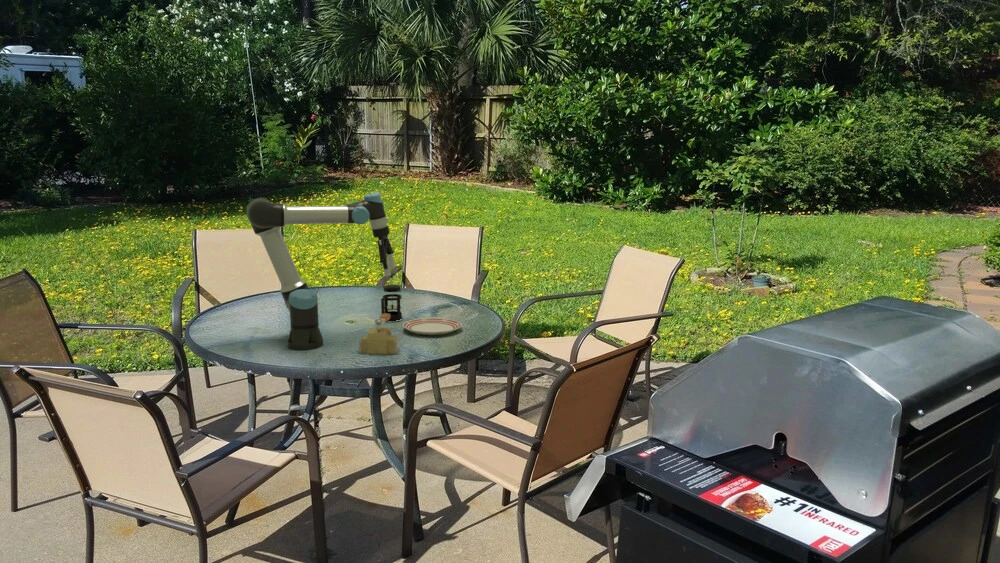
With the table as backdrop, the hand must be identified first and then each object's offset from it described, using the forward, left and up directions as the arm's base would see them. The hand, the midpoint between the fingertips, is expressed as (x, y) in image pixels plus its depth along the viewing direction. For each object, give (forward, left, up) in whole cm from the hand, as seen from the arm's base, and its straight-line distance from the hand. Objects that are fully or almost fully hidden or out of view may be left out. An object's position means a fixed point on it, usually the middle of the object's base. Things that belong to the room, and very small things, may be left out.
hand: (390, 271), depth 340 cm
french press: (-4, +16, -27) cm, 32 cm away
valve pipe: (+3, -37, -27) cm, 46 cm away
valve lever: (+3, -30, -18) cm, 35 cm away
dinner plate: (+19, -1, -28) cm, 34 cm away
